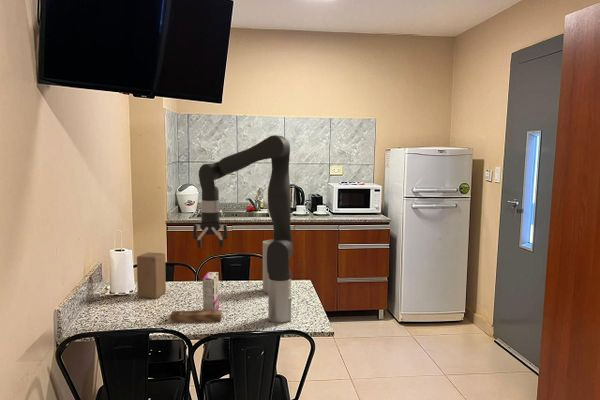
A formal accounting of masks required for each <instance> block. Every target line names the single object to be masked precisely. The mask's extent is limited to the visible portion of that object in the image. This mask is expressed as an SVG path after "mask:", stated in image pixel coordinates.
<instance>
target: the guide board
mask: <svg viewBox="0 0 600 400" xmlns="http://www.w3.org/2000/svg"><path fill="white" fill-rule="evenodd" d="M222 313H223V310H219V309H218V311H211V310H208V311H203V310H172V312H171V313H170V314H169V320H170V321H169V323H216V322H217V323H218V322H220V323H221V321H222V317H223V316H222Z"/></svg>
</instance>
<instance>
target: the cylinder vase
mask: <svg viewBox="0 0 600 400" xmlns="http://www.w3.org/2000/svg"><path fill="white" fill-rule="evenodd" d="M272 242H273V239H267V240H263V241H262V292H263V293H264V294H267V295H268V293H269V275H268V272H267V248H268V246H269V245H270V244H271V243H272Z"/></svg>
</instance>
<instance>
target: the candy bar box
mask: <svg viewBox="0 0 600 400" xmlns="http://www.w3.org/2000/svg"><path fill="white" fill-rule="evenodd" d="M219 285H220V284H219V272H218V271H208V272H207V273H206V274H205V275H204V277H203V278H202V303H203V304H202V307H203V309H202V311H208V310H211V311H219V309H220V300H219V299H220V297H219V295H220V293H219V292H220V291H219V290H220V288H219Z"/></svg>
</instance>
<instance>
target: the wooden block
mask: <svg viewBox="0 0 600 400" xmlns="http://www.w3.org/2000/svg"><path fill="white" fill-rule="evenodd" d="M136 271H137V272H136V275H137V277H136V278H137V280H136V281H137V285H136V286H137V297H138V298H143V299H154V300H155V299H158V298H160V297H162V296H163V295H165V294H166V291H167V288H166V287H167V286H166V285H167V283H166V276H167V275H166V254H165V253H164V252H163V253H162V252H150V251H149V252H145V253H142V254H140V255H138V256H137V257H136Z"/></svg>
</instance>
